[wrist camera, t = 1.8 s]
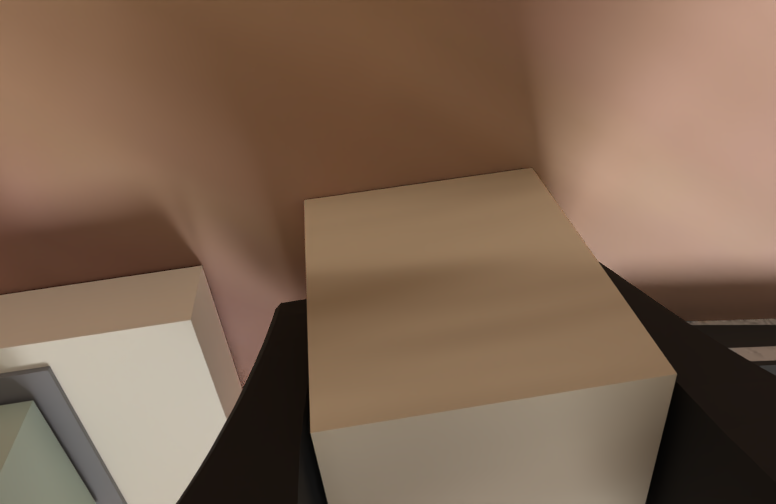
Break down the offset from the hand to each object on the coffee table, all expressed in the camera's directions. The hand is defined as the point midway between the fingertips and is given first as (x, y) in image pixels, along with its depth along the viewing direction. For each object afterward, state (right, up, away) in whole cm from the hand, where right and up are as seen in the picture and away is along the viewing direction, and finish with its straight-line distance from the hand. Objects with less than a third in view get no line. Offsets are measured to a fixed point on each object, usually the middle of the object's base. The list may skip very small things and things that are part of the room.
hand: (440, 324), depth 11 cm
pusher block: (0, +1, +1) cm, 1 cm away
